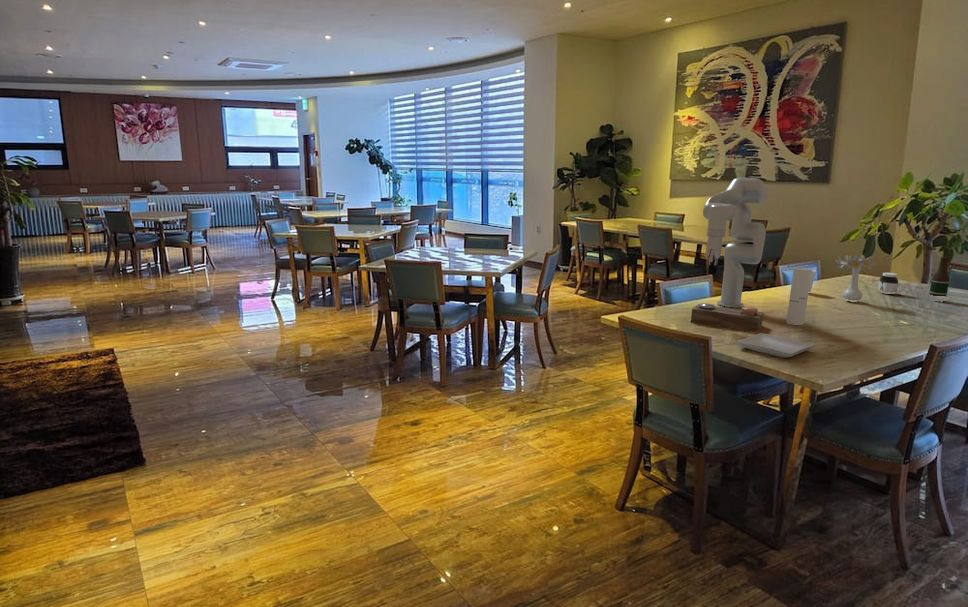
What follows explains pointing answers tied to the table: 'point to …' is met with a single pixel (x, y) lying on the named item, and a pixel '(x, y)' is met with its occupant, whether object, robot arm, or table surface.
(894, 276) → the spread jar
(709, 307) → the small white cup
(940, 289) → the beer bottle
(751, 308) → the terracotta plunger
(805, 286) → the white tall box
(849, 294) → the flower vase
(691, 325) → the table surface
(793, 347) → the salad plate
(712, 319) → the button stand
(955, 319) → the table surface
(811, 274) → the foam cup
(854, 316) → the table surface
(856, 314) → the table surface
